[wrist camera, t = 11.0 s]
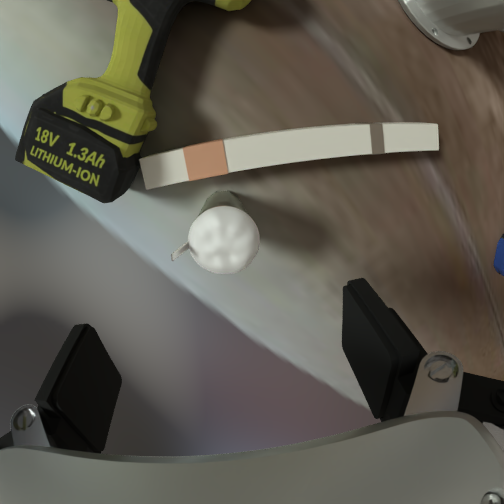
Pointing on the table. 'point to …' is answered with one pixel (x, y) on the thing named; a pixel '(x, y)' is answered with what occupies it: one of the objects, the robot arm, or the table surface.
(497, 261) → the bar clamp
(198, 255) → the milkshake
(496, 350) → the table surface
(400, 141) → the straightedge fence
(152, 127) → the cordless drill
